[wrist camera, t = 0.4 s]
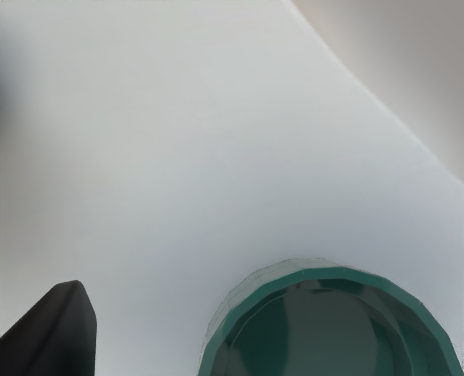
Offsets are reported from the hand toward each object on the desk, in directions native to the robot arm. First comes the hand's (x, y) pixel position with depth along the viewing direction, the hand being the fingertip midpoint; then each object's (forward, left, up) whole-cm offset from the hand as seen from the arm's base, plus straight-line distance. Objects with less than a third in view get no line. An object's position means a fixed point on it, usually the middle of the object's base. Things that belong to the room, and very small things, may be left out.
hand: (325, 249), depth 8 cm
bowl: (-7, +2, -15) cm, 17 cm away
